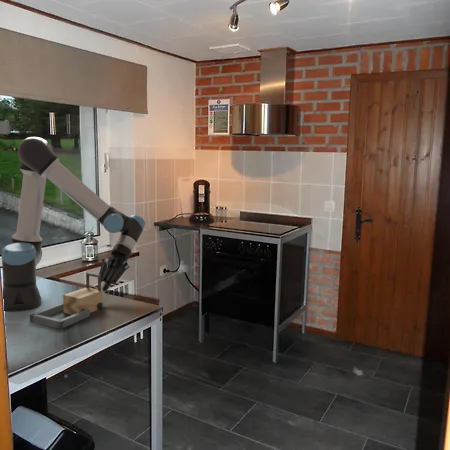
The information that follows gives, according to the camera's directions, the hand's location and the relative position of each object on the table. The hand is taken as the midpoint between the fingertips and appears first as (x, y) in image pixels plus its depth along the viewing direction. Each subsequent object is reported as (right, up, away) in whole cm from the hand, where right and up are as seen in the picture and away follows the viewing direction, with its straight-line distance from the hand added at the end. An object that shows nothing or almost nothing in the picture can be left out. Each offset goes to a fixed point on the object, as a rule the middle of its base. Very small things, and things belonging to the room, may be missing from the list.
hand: (97, 297), depth 179 cm
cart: (-4, -4, -6) cm, 8 cm away
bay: (-9, -5, -15) cm, 18 cm away
